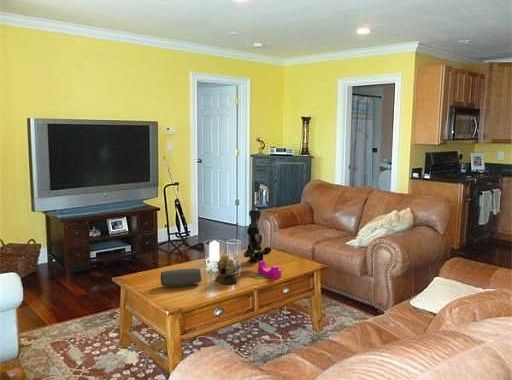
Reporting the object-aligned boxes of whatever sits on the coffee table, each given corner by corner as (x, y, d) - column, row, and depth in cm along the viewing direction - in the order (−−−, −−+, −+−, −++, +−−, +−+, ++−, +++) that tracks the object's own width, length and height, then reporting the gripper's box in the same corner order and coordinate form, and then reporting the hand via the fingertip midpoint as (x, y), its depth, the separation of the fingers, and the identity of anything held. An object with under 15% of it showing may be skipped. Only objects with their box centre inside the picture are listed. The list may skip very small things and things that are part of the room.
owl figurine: (242, 283, 273) (242, 256, 271) (226, 287, 266) (226, 259, 264) (227, 275, 287) (227, 249, 285) (211, 278, 281) (211, 252, 278)
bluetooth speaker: (197, 281, 275) (197, 265, 274) (201, 286, 267) (201, 270, 265) (160, 285, 268) (160, 269, 266) (162, 290, 259) (162, 273, 258)
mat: (251, 276, 287) (251, 275, 287) (272, 272, 295) (272, 272, 295) (256, 279, 281) (256, 278, 281) (277, 275, 289) (277, 275, 289)
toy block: (281, 277, 285) (281, 265, 284) (273, 279, 281) (274, 267, 280) (265, 270, 296) (265, 259, 295) (258, 272, 292) (258, 261, 291)
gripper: (261, 247, 312) (269, 267, 304) (237, 250, 302) (245, 271, 294) (267, 239, 304) (275, 259, 296) (243, 242, 294) (251, 262, 286)
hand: (262, 263), depth 293 cm, fingers closed
